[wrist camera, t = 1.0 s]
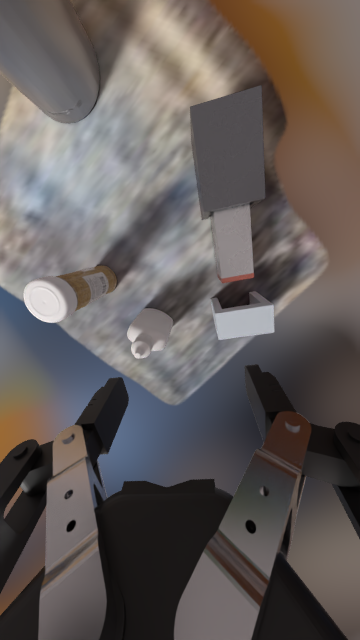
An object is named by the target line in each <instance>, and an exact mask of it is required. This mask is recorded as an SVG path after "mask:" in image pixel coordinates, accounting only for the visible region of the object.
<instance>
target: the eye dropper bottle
mask: <svg viewBox="0 0 360 640" xmlns="http://www.w3.org/2000/svg"><path fill="white" fill-rule="evenodd" d="M172 325H173V320H172V318H171V317H170V316H168V315H167V314H166V313H164V312H162V311H160V310H157V309H153V308H145V309H143V310H142V311H141V312H140V313H139V315H138V316H137V317H136V318H135V320H134V321H133V322H132V323H131V325H130V327H129V329H128V332H127V336H128V338H129V339H130V340H131V341H132V342H133V344H132V346H131V351H132V353H133V354H134V355H135V358H145V357H147V356H148V355H149V354H150V352H151V351H161V350H163V349H164V348H165V346H166V343H167V341H168V338H169V335H170V332H171V328H172Z"/></svg>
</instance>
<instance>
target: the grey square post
mask: <svg viewBox="0 0 360 640" xmlns="http://www.w3.org/2000/svg"><path fill="white" fill-rule="evenodd" d="M210 217H211V225H212V233H213V241H214V249H215V257H216V266H217V274H218V278H219V280H220V281H221V282H222V283H227V282H232V281H238V280H244V279H250V278H254V269H253V252H252V235H251V217H250V203H247V204H243V205H238V206H234V207H229V208H225V209H221V210H216V211H212V212H210Z"/></svg>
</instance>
